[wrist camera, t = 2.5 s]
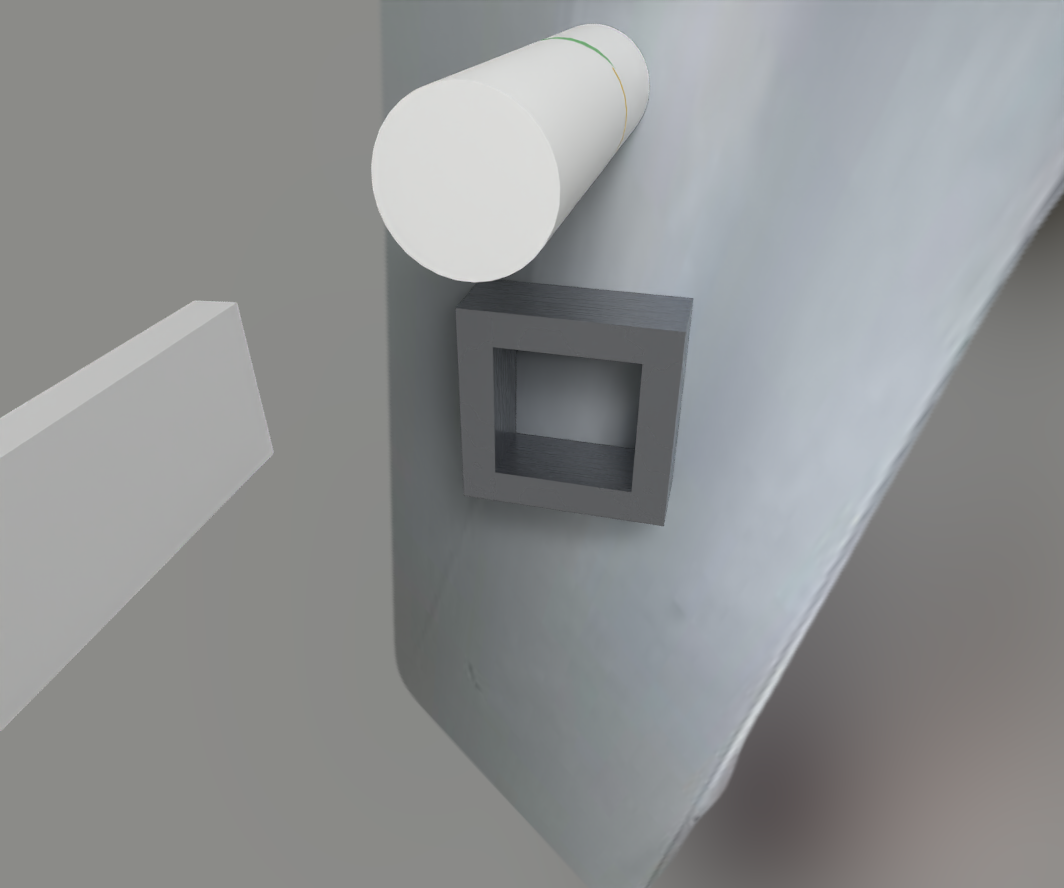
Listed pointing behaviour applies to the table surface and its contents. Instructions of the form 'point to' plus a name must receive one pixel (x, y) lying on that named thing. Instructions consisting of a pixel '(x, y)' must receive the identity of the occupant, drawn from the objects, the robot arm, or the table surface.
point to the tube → (506, 150)
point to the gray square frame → (583, 331)
